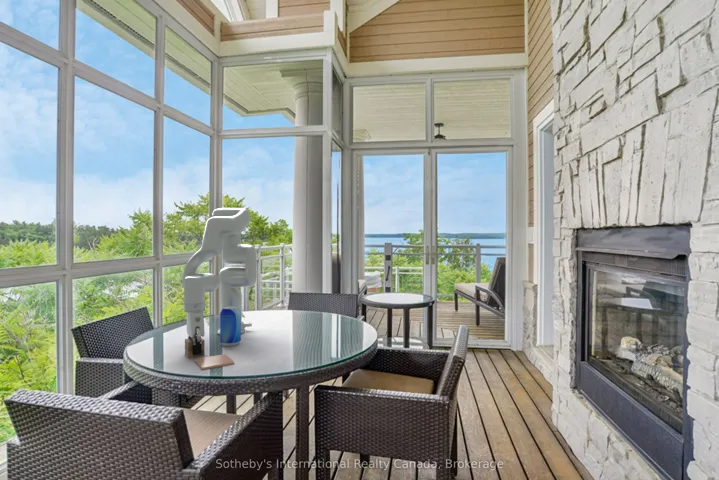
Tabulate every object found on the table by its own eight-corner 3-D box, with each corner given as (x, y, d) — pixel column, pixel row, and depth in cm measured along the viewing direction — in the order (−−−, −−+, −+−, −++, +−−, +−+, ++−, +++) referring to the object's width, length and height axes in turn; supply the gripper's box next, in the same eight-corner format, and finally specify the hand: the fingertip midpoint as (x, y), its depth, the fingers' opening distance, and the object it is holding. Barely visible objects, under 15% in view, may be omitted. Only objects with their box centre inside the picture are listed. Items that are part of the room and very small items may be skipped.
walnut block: (200, 351, 154) (201, 336, 154) (204, 355, 149) (204, 340, 149) (184, 354, 150) (184, 339, 150) (188, 358, 146) (188, 342, 146)
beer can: (244, 342, 167) (244, 305, 167) (232, 347, 159) (232, 309, 159) (228, 340, 170) (228, 304, 170) (215, 345, 162) (215, 308, 162)
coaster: (225, 355, 148) (225, 353, 148) (234, 363, 139) (234, 361, 139) (195, 361, 142) (195, 359, 142) (202, 369, 133) (202, 367, 133)
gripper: (210, 309, 145) (210, 355, 145) (199, 303, 159) (199, 344, 159) (188, 312, 140) (188, 359, 140) (180, 304, 154) (180, 347, 155)
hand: (194, 351), depth 150 cm, fingers open, 7 cm apart
